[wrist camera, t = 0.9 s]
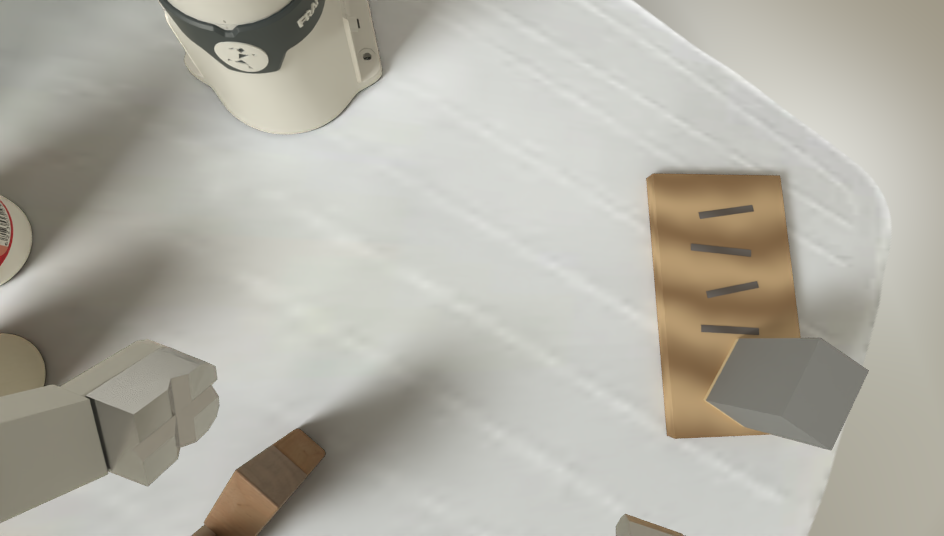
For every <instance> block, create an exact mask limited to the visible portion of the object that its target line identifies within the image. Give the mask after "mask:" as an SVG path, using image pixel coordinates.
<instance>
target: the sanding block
mask: <svg viewBox="0 0 944 536" xmlns="http://www.w3.org/2000/svg"><path fill="white" fill-rule="evenodd" d="M868 371H869V370H867V369H866V368H864V367H863V366H861V365H860V364H858V363H857V362H855V361H854V360H852V359H851V358H850V357H848V356H847V355H845V354H844V353H842V352H841V351H839V350H838V349H836V348H835V347H833V346H832V345H830V344H829V343H827V342H826V341H824V340H823V339H822V338H737V339H736V340H735V342H734V344H733V346H732V347H731V349H730V351H729V353H728V355H727V357H726V359H725V360H724V362H723V364H722V366H721V368H720V370H719V372H718V373H717V375H716V377H715V379H714V381H713V383H712V385H711V386H710V388H709V390H708V392H707V394H706V396H705V398H704V401H706V402H707V403H709V404H710V405H712V406H713V407H714V408H716V409H717V410H719V411H720V412H722V413H723V414H725V415H726V416H728V417H729V418H731V419H732V420H734V421H735V422H736V423H738V424H739V425H741V426H743V427H746V428H750V429H754V430H757V431H761V432H765V433H769V434H772V435H776V436H780V437H783V438H787V439H791V440H794V441H798V442H802V443H806V444H809V445H813V446H817V447H820V448H824V449H828V450H832V448H833V446H834V444H835V442H836V440H837V438H838V436H839V433H840V431H841V429H842V427H843V425H844V423H845V421H846V418H847V416H848V414H849V412H850V410H851V408H852V406H853V403H854V401H855V399H856V397H857V395H858V393H859V391H860V389H861V386H862V384H863V382H864V380H865V378H866V376H867V374H868Z"/></svg>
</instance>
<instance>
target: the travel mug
mask: <svg viewBox="0 0 944 536" xmlns="http://www.w3.org/2000/svg"><path fill="white" fill-rule="evenodd" d="M44 383H45V365H44V361H43V358H42V356H41V354H40V353H39V351H38V350H37V348H36V347H35V346H34V345H33V344H32V343H30V342H29V341H27V340H26V339H24V338H22V337H20V336H17V335H13V334H7V333H0V397H2V396H6V395H10V394H14V393H18V392H23V391H27V390H31V389H35V388H39V387H44Z"/></svg>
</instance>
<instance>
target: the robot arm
mask: <svg viewBox="0 0 944 536" xmlns="http://www.w3.org/2000/svg"><path fill="white" fill-rule="evenodd" d="M158 1H159V4H160V5H161V6H162V8H163V10H164V11H165V18H166V20H167V22H168V24H169V26H170V27H171V29H172V30H173V32H174V34H175V35H176V37H177V38H178V40H179V41H180V43H181V44H182V46H183V48H184V49H185V51H186V53H185V57H184V62H185V65H186V67H187V68H188V70H189V71H190V72H191V74H192V75H194V76H195V77H196V78H198V79H199V80H200V81H202V82H204V83H205V84H207V85H208V86H210V87H211V88H212V89H213V90H214V92H215V93H216V94H217V96H218V97H219V99H220V100H221V102H222V103H223V105H224V106H225V107H226V108H227V110H228V111H229V112H230V113H231V114H232V115H234V116H235V117H236V118H237V119H239V120H240V121H241V122H243V123H245V124H246V125H248V126H250V127H252V128H255V129H257V130H260V131H264V132H268V133H273V134H298V133H303V132H308V131H311V130H314V129H317V128H319V127H321V126H323V125H325V124H327V123H328V122H330V121H331V120H333V119H334V118H335V117H337V116H338V115H339V114H340V113H341V112H342V111H343V110H344V109H345V108H346V107H347V105H348V104H349V103H350V101H351V100H352V99H353V97H354V96H355V95H356V94H357V93H358V92H359V91H361V90H363V89H365V88H367V87H368V86H370V85H372V84H373V83H375V82H376V81H377V80H378V79H379V78H380V77H381V75H382V66H381V61H380V56H379V51H378V46H377V41H376V36H375V31H374V26H373V22H372V17H371V12H370V7H369V2H368V0H158ZM365 57H370V58H371V59H370V60H364V58H365ZM216 380H217V373H216V366H214V365H212V364H210V363H207V362H205V361H202V360H200V359H197V358H195V357H192V356H190V355H187V354H185V353H182V352H180V351H177V350H175V349H172V348H170V347H167V346H164V345H161V344H159V343H156V342H154V341H151V340H148V339H146V340H140V341H136V342H134V343H133V344H131V345H129V346H127V347H126V348H124V349H122V350H121V351H119V352H117V353H116V354H114V355H112V356H111V357H109V358H107V359H106V360H104V361H102V362H100V363H99V364H97V365H95V366H94V367H92V368H90V369H89V370H87V371H85V372H84V373H82V374H80V375H79V376H77V377H75V378H74V379H72V380H70V381H68V382H67V383H65V384H63V385H62V386H60V387H59V386H56V385H53V384H52V385H48V386H44V387H39V388H35V389H31V390H27V391H23V392H18V393H14V394H10V395H6V396H2V397H0V523H1V522H4V521H6V520H8V519H10V518H12V517H15V516H17V515H19V514H21V513H24V512H26V511H28V510H30V509H32V508H35V507H37V506H39V505H41V504H43V503H46V502H48V501H50V500H52V499H55V498H57V497H59V496H61V495H63V494H66V493H68V492H70V491H72V490H74V489H77V488H79V487H81V486H83V485H86V484H88V483H90V482H92V481H94V480H97V479H99V478H101V477H103V476H105V475H107V474H108V471H109V472H111V473H114V474H116V475H119V476H122V477H124V478H127V479H129V480H132V481H135V482H137V483H140V484H142V485H145V486H149V485H150V484H151V483H153V482H154V481H155V480H156V479H157V478H158V477H159V476H160V475H161V474H162V473H163V472H164V471H166V470H167V469H168V468H169V467H170V466H171V465H172V464H173V463H174V462H175V461H176V460H177V459H178V456H179V452H180V448H181V447H184V446H186V445H189V444H192V443H195V442H197V441H198V440H199V439H200V438H201V437H202V436H203V435H204V434H205V433H206V432H207V431H208V430H209V428H210V427H211V425H212V423H213V422H214V420H215V419H216V417H217V413H218V409H219V396H218V394H217V393H216V391H215V390H214V388H213V387H212V384H213V383H214V382H215V381H216ZM616 536H684V535H683V534H681V533H678V532H676V531H673V530H670V529H667V528H664V527H661V526H658V525H656V524H653V523H650V522H647V521H644V520H641V519H638V518H636V517H633V516H630V515H627V514H624V515H623V516H622V517H621V518H620V520H619V522H618V524H617V525H616Z"/></svg>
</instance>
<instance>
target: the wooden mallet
mask: <svg viewBox="0 0 944 536" xmlns="http://www.w3.org/2000/svg"><path fill="white" fill-rule="evenodd" d="M324 456H325V451H324V450H323V449H322V448H321V447H320V446H319V445H318V444H316V443H315V442H314V441H313V440H312V439H311V438H310V437H308V436H307V435H306V434H305V433H304V432H303V431H302V430H300V429H298V428H297V429H295V430H293V431H292V432H290V433H289V434H287V435H286V436H284V437H283V438H282V439H280V440H279V441H277V442H276V443H274V444H273V445H271V446H270V447H268V448H267V449H265V450H264V451H262V452H261V453H260V454H258V455H257V456H255V457H254V458H252V459H251V460H249V461H248V462H246V463H245V464H244V465H242V466H241V467H239V468H238V469H236V470H235V472H234V473H233V475H232V477H231V478H230V480H229V482H228V483H227V485H226V487H225V488H224V490H223V492H222V493H221V495H220V496H219V498H218V500H217V501H216V503H215V505H214V506H213V508H212V510H211V511H210V513H209V514H208V516H207V518H206V519H205V521H204V524H205V525H204V526H202V527H201V528H200V529H199V530H198V531H196V532H195V533H194V534H193V535H192V536H257V535H258V534H259V533H260V531H261V530H262V529H263V528H264V527H265V525H266V524H267V523H268V522H269V521H270V520H271V518H272V517H273V516H274V515H275V514H276V513H277V511H278V510H279V509H280V508H281V507H282V506H283V504H284V503H285V502H286V501H287V500H288V499H289V497H290V496H291V495H292V494H293V493H294V492H295V490H296V489H297V488H298V487H299V486H300V484H301V483H302V482H303V481H304V480H305V479H306V477H307V476H308V475H309V474H310V472H311V471H312V470H313V469H314V468H315V467H316V465H317V464H318V463H319V462H320V461H321V460H322V458H323V457H324Z"/></svg>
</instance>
